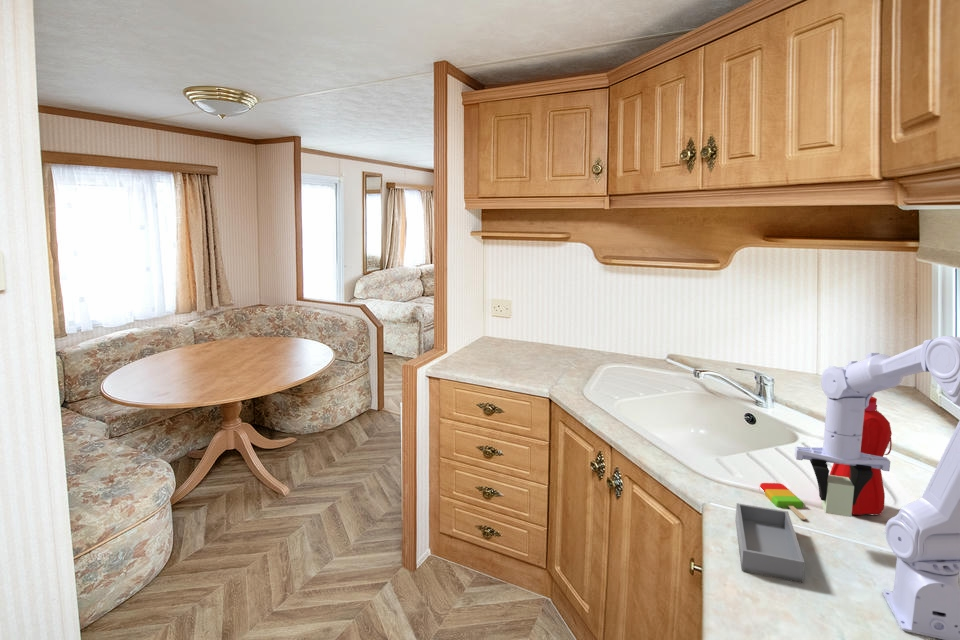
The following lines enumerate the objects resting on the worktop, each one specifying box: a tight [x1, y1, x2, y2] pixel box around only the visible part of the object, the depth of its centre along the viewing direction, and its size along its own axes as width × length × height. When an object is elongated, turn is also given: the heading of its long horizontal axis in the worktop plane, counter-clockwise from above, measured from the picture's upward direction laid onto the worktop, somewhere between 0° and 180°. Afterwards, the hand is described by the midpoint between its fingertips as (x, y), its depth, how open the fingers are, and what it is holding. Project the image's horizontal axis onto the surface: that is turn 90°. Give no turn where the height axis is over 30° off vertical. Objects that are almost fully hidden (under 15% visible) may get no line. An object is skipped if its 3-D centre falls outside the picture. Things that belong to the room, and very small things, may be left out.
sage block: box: [820, 474, 854, 518], centre depth 99 cm, size 4×4×6 cm
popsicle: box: [759, 482, 807, 521], centre depth 115 cm, size 6×15×2 cm, turn 176°
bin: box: [735, 503, 805, 584], centre depth 98 cm, size 18×9×4 cm, turn 157°
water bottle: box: [829, 396, 893, 516], centre depth 112 cm, size 9×11×25 cm
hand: (836, 500), depth 99 cm, fingers closed on sage block, 4 cm apart
